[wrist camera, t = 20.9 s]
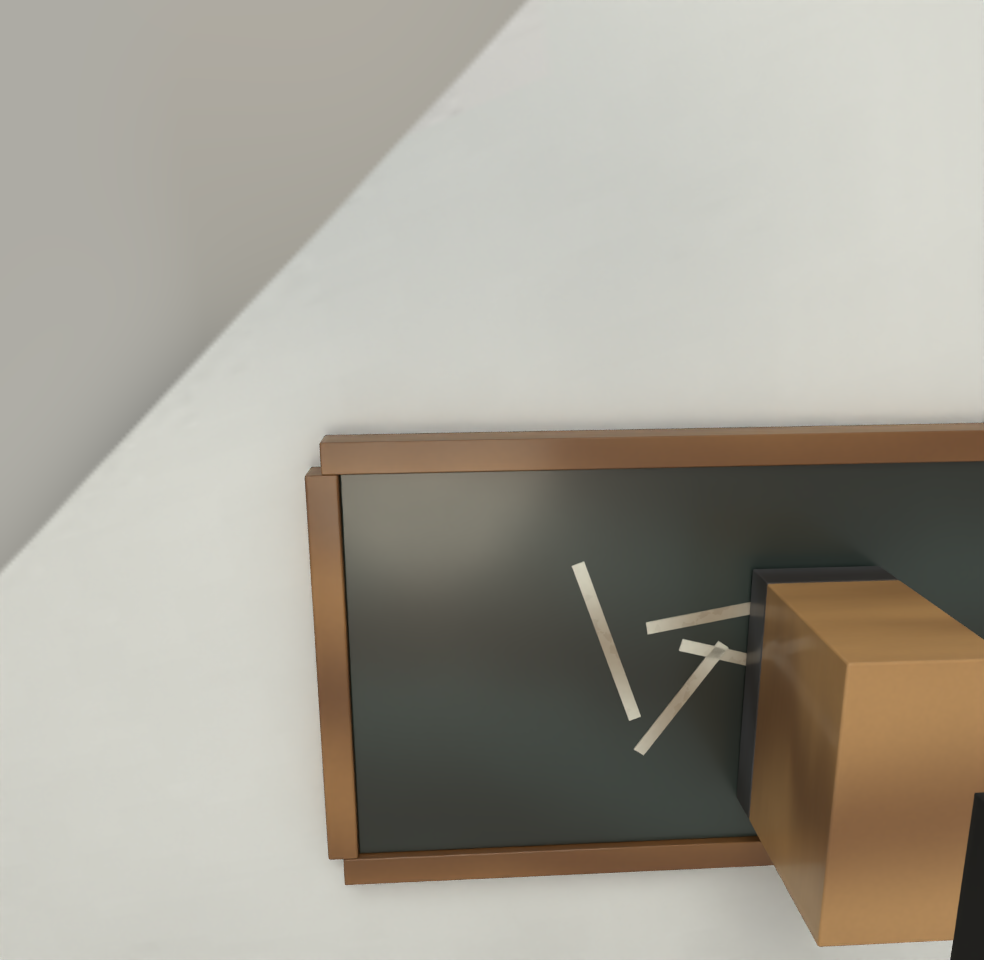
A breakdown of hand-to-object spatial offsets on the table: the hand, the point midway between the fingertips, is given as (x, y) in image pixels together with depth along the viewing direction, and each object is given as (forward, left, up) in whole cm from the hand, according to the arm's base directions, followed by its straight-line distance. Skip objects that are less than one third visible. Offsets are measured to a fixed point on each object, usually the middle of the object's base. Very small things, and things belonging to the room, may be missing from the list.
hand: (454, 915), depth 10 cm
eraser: (+9, +14, -22) cm, 27 cm away
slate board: (+7, +9, -23) cm, 26 cm away
